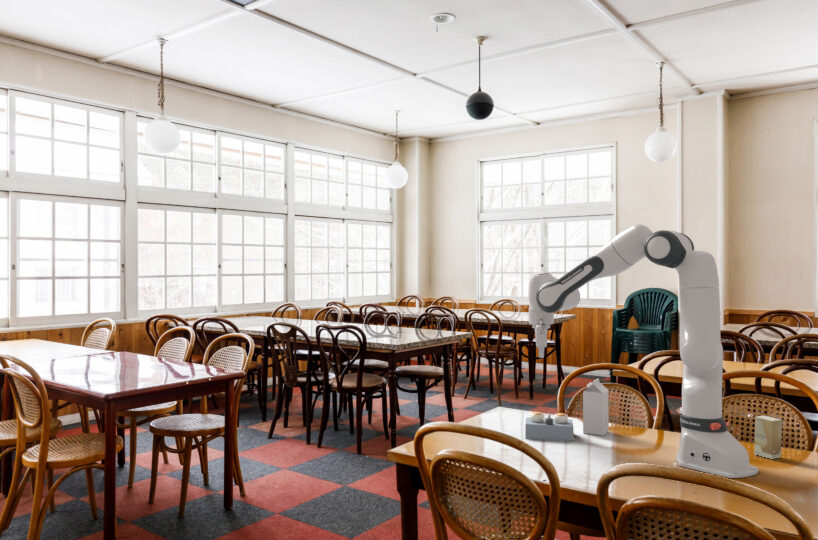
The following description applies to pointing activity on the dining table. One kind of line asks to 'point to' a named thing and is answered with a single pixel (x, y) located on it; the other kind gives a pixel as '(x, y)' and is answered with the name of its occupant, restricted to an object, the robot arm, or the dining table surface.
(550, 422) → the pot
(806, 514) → the dining table surface
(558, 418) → the knob
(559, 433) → the mount
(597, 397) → the milk carton
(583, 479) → the dining table surface
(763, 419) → the skincare box
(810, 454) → the dining table surface
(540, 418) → the knob
